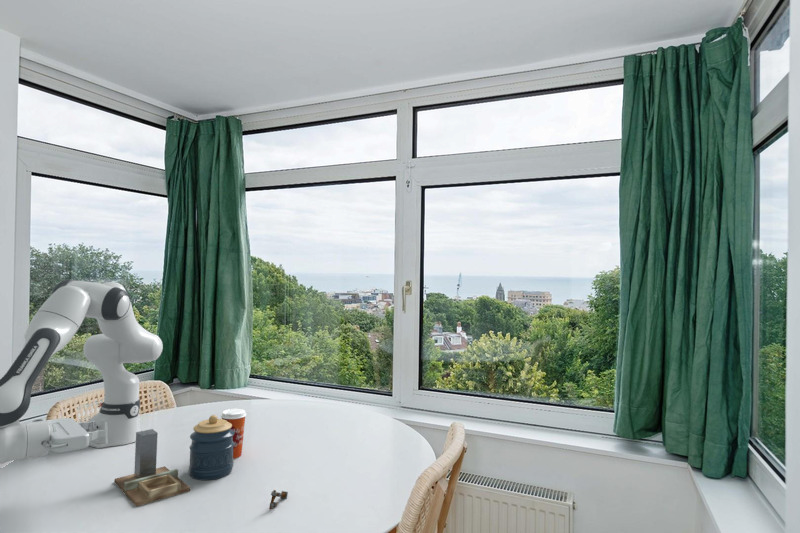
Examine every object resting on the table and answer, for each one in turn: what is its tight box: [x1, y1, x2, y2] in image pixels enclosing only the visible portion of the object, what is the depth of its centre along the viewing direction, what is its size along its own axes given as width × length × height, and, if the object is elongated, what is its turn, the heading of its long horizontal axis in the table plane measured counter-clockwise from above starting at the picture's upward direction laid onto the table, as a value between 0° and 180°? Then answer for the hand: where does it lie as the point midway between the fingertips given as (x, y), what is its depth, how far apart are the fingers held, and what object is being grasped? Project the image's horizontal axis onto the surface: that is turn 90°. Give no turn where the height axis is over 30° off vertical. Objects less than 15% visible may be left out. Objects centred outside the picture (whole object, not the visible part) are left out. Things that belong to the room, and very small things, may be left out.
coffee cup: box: [220, 408, 247, 460], centre depth 162 cm, size 8×8×15 cm
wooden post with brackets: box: [268, 489, 289, 510], centre depth 128 cm, size 2×8×4 cm, turn 166°
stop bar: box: [133, 428, 158, 479], centre depth 141 cm, size 4×4×13 cm
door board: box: [114, 466, 191, 507], centre depth 137 cm, size 14×20×3 cm
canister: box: [188, 414, 235, 481], centre depth 148 cm, size 13×13×18 cm
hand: (100, 428), depth 132 cm, fingers open, 8 cm apart
